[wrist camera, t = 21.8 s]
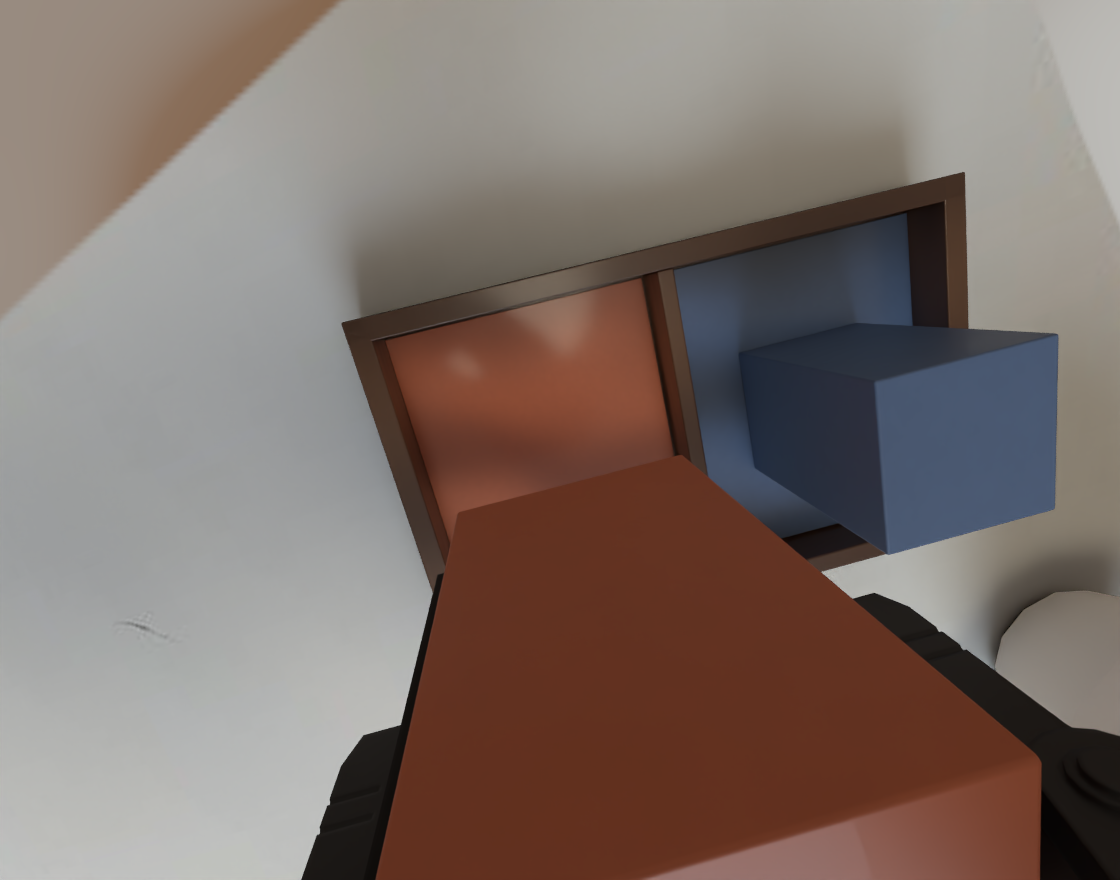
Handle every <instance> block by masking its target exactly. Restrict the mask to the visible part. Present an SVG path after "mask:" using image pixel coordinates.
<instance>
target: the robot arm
mask: <svg viewBox="0 0 1120 880" xmlns="http://www.w3.org/2000/svg"><path fill="white" fill-rule="evenodd" d="M443 576H444V573H442V574H438V575H437V579H436V583H435V587H434V591H433V595H432V599H431V604H430V608H429V612H428V616H427V620H426V624H425V628H424V632H423V636H422V641H421V645H420V649H419V653H418V657H417V661H416V665H415V669H414V673H413V678H412V682H411V686H410V690H409V694H408V698H407V702H406V706H405V710H404V714H403V719H402V723H401V725H400V726H396V727H392V728H389V729H385V730H381V731H378V732H374V733H370V734H367V735H363V737H362V738H361V740H360V741H359V742H358V744H357V745H356V746H355V748H354V749H353V751H352V752H351V753H350V755H349V756H348V757H347V759H346V760H345V762H344V763H343V764H342V766H341V768H340V771H339V774H338V777H337V780H336V782H335V785H334V788H333V791H332V794H331V797H330V805H328V806H327V808H326V811H325V814H324V817H323V819H322V822H321V825H320V834H319V835H317V836H316V839H315V842H314V845H313V848H312V851H311V854H310V856H309V859H308V862H307V865H306V868H305V871H304V874H303V876H302V879H301V880H375V879H376V875H377V871H378V866H379V862H380V857H381V853H382V848H383V844H384V839H385V835H386V830H387V826H388V821H389V817H390V812H391V808H392V804H393V799H394V795H395V790H396V786H397V781H398V777H399V772H400V768H401V763H402V759H403V754H404V750H405V745H406V741H407V737H408V732H409V728H410V723H411V719H412V714H413V710H414V705H415V701H416V696H417V692H418V687H419V683H420V678H421V674H422V670H423V665H424V661H425V656H426V652H427V647H428V643H429V638H430V634H431V629H432V625H433V620H434V616H435V611H436V607H437V603H438V598H439V594H440V589H441V585H442V580H443ZM853 600H854V601H856V602H857V603H858V604H859V605H860V606H861V607H863V608H864V609H865V610H866V611H867V612H869V613H870V614H871V615H872V616H873V617H874V618H876V619H877V620H878V621H879V622H880V623H882V624H883V625H884V626H885V627H886V628H887V629H889V630H890V631H891V632H892V633H893V634H895V635H896V636H897V637H898V638H899V639H900V640H902V641H903V642H904V643H905V644H906V645H908V646H909V647H910V648H911V649H912V650H913V651H915V652H916V653H917V654H918V655H919V656H921V657H922V658H923V659H924V660H925V661H927V662H928V663H929V664H930V665H931V666H932V667H934V668H935V669H936V670H937V671H938V672H940V673H941V674H942V675H943V676H944V677H945V678H947V679H948V680H949V681H950V682H951V683H953V684H954V685H955V686H956V687H957V688H958V689H960V690H961V691H962V692H963V693H964V694H966V695H967V696H968V697H969V698H970V699H971V700H973V701H974V702H975V703H976V704H977V705H979V706H980V707H981V708H982V709H983V710H985V711H986V712H987V713H988V714H989V715H990V716H992V717H993V718H994V719H995V720H996V721H998V722H999V723H1000V724H1001V725H1002V726H1003V727H1005V728H1006V729H1007V730H1008V731H1009V732H1011V733H1012V734H1013V735H1014V736H1015V737H1016V738H1018V739H1019V740H1020V741H1021V742H1022V743H1024V744H1025V745H1026V746H1027V747H1028V748H1029V749H1031V750H1032V751H1033V752H1034V753H1035V754H1036V755H1037V756H1038V757H1039V759H1040V761H1041V763H1042V768H1041V840H1040V880H1120V736H1118V735H1114V734H1110V733H1107V732H1103V731H1100V730H1096V729H1085V728H1072V727H1070V726H1069V725H1067V724H1066V723H1064V722H1063V721H1062V720H1060V719H1059V718H1058V717H1056V716H1055V715H1054V714H1052V713H1051V712H1049V711H1048V710H1047V709H1045V708H1044V707H1043V706H1041V705H1040V704H1039V703H1037V702H1036V701H1035V700H1033V699H1032V698H1031V697H1029V696H1028V695H1027V694H1025V693H1024V692H1023V691H1021V690H1020V689H1019V688H1017V687H1016V686H1015V685H1013V684H1012V683H1011V682H1009V681H1008V680H1007V679H1005V678H1004V677H1003V676H1001V675H1000V674H998V673H997V672H996V671H994V670H993V669H992V668H990V667H989V666H988V665H986V664H985V663H984V662H982V661H981V660H980V659H978V658H977V657H976V656H974V655H973V654H972V653H970V652H969V651H968V650H963V649H962V648H961V646H960V644H958V643H957V642H956V641H954V640H953V639H952V638H950V637H949V636H947V635H946V634H945V633H943V632H939V631H938V630H937V627H935V626H934V625H933V624H931V623H930V622H929V621H927V620H926V619H925V618H923V617H922V616H921V615H919V614H918V613H917V612H915V611H914V610H913V609H911V608H910V607H908V606H906V605H903V604H901V603H898V602H896V601H893V600H891V599H888V598H886V597H883V596H881V595H878V594H876V593H872V594H868V595H865V596H861V597H857V598H854V599H853Z"/></svg>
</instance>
